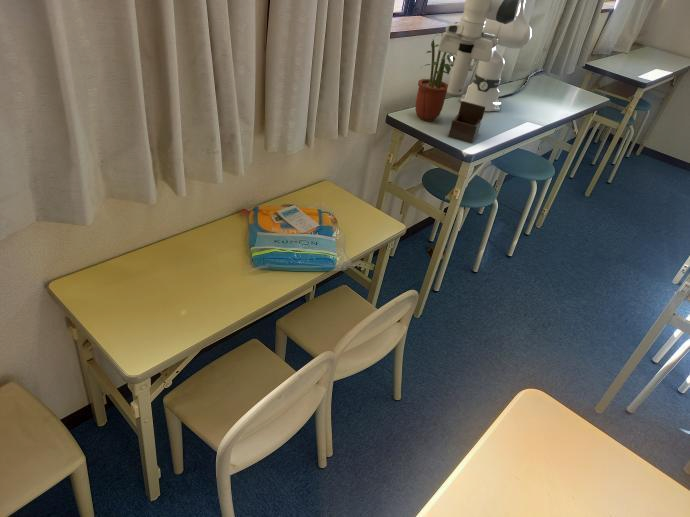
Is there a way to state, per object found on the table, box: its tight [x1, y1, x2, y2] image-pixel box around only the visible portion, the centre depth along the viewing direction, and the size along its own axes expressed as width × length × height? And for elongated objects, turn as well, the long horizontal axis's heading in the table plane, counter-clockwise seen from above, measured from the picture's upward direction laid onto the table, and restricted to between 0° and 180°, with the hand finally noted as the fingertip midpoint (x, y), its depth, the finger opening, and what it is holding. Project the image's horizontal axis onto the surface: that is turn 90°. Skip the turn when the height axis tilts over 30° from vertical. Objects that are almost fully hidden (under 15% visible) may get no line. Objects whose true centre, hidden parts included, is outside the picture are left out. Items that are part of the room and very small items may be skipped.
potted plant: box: [415, 32, 456, 122], centre depth 204 cm, size 17×16×35 cm
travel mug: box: [446, 43, 474, 98], centre depth 186 cm, size 6×7×20 cm
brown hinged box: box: [447, 101, 486, 144], centre depth 198 cm, size 11×10×12 cm
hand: (460, 68), depth 186 cm, fingers closed on travel mug, 6 cm apart
